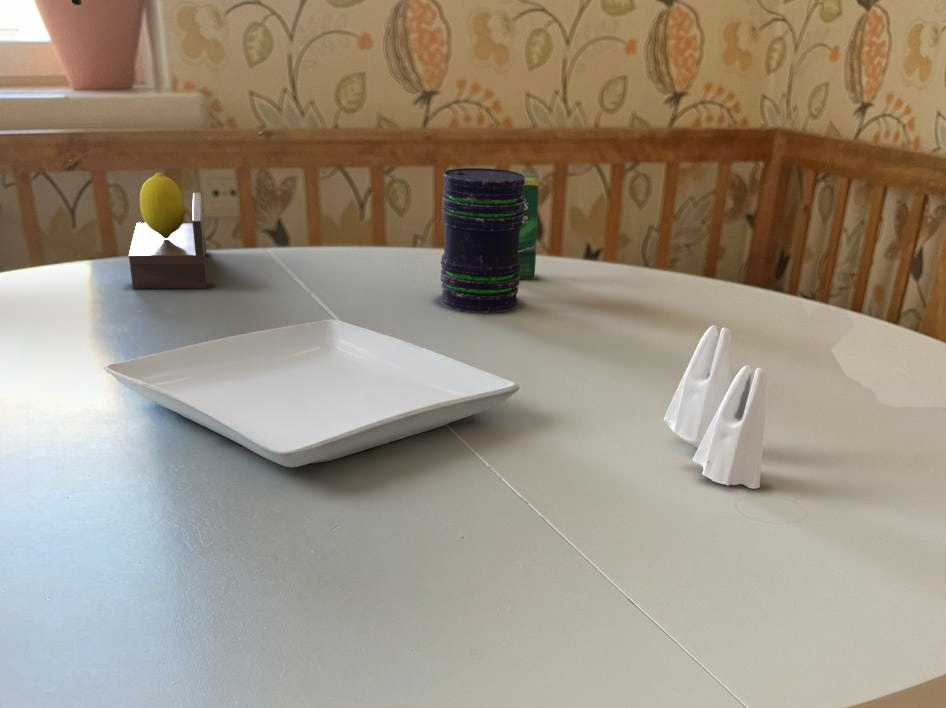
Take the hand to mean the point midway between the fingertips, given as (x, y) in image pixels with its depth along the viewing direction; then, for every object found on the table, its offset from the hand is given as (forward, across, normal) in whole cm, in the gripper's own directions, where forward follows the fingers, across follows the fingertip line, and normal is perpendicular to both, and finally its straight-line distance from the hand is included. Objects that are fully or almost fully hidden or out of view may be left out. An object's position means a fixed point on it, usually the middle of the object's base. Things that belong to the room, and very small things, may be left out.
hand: (30, 2), depth 114 cm
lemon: (+26, -11, -8) cm, 30 cm away
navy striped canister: (+30, -49, +11) cm, 59 cm away
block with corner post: (+30, -12, -8) cm, 33 cm away
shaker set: (+30, -58, +64) cm, 91 cm away
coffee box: (+30, -56, -2) cm, 64 cm away
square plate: (+30, -25, +48) cm, 62 cm away
